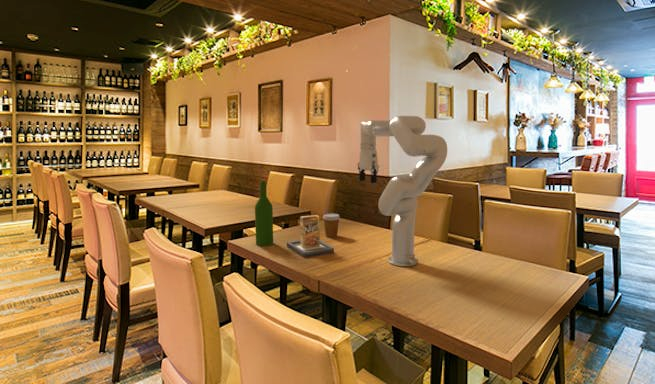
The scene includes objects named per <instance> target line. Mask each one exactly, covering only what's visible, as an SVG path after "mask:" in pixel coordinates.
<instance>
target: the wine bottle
mask: <svg viewBox="0 0 655 384" xmlns="http://www.w3.org/2000/svg"><path fill="white" fill-rule="evenodd" d="M259 185H260V186H259V187H260V188H259V191H260V195H259V198H258V200H257V201H256V204H255V206H254V214H255V215H254V217H255V218H254V219H255V221H254V223H255V224H254V225H255V245H256V246H258V247H259V246H260V247H269V246H272V245H273V244H274V219H273V218H274V217H273V216H274V213H273V212H274V211H273V204H272V203H271V201H270V199H269V198H268V197H267V181H260V182H259Z"/></svg>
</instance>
